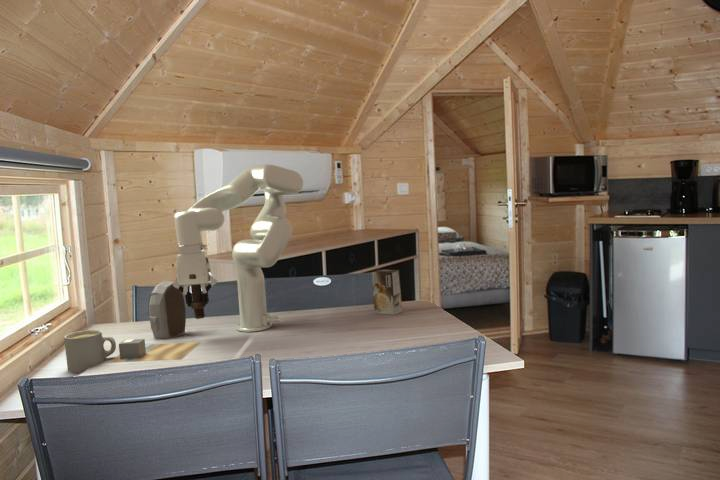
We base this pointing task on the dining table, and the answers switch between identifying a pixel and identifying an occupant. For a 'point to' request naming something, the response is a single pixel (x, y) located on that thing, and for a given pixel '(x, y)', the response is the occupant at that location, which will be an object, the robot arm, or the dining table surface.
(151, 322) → the small grey backpack
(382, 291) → the coffee box
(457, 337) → the dining table surface
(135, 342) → the grey block
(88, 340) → the coffee mug
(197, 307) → the bolt
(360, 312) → the dining table surface
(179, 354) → the yellow striped flat sheet
